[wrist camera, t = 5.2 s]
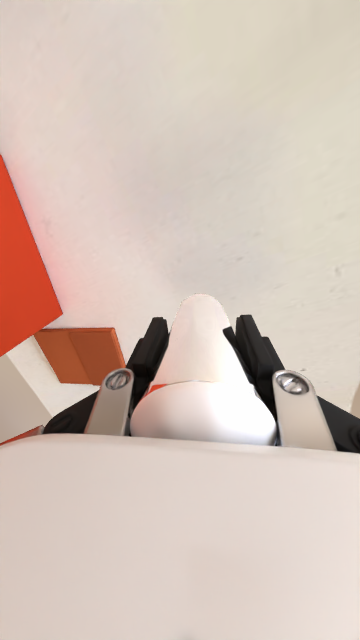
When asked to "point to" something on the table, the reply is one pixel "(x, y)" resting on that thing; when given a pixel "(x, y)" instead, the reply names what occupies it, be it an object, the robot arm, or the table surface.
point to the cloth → (81, 353)
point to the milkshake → (203, 384)
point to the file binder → (21, 274)
